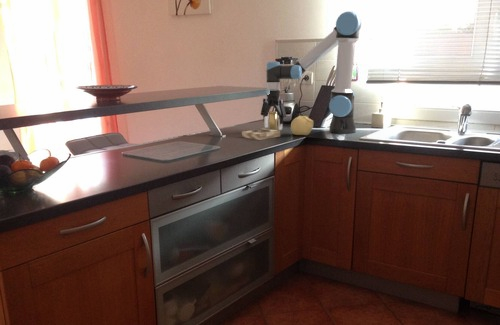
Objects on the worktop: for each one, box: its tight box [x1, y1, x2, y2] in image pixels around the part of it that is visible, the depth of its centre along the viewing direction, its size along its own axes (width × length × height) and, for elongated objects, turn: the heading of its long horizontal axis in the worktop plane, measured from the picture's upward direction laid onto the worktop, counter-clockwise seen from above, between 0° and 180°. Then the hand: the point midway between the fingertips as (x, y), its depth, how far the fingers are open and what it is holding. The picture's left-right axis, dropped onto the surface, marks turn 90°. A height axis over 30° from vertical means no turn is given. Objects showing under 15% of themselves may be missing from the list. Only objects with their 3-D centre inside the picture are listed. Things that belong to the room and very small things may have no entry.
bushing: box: [268, 110, 278, 130], centre depth 255 cm, size 5×5×12 cm
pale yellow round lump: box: [290, 115, 315, 136], centre depth 246 cm, size 12×12×11 cm
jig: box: [241, 127, 281, 141], centre depth 243 cm, size 14×16×3 cm
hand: (273, 128), depth 255 cm, fingers open, 10 cm apart
